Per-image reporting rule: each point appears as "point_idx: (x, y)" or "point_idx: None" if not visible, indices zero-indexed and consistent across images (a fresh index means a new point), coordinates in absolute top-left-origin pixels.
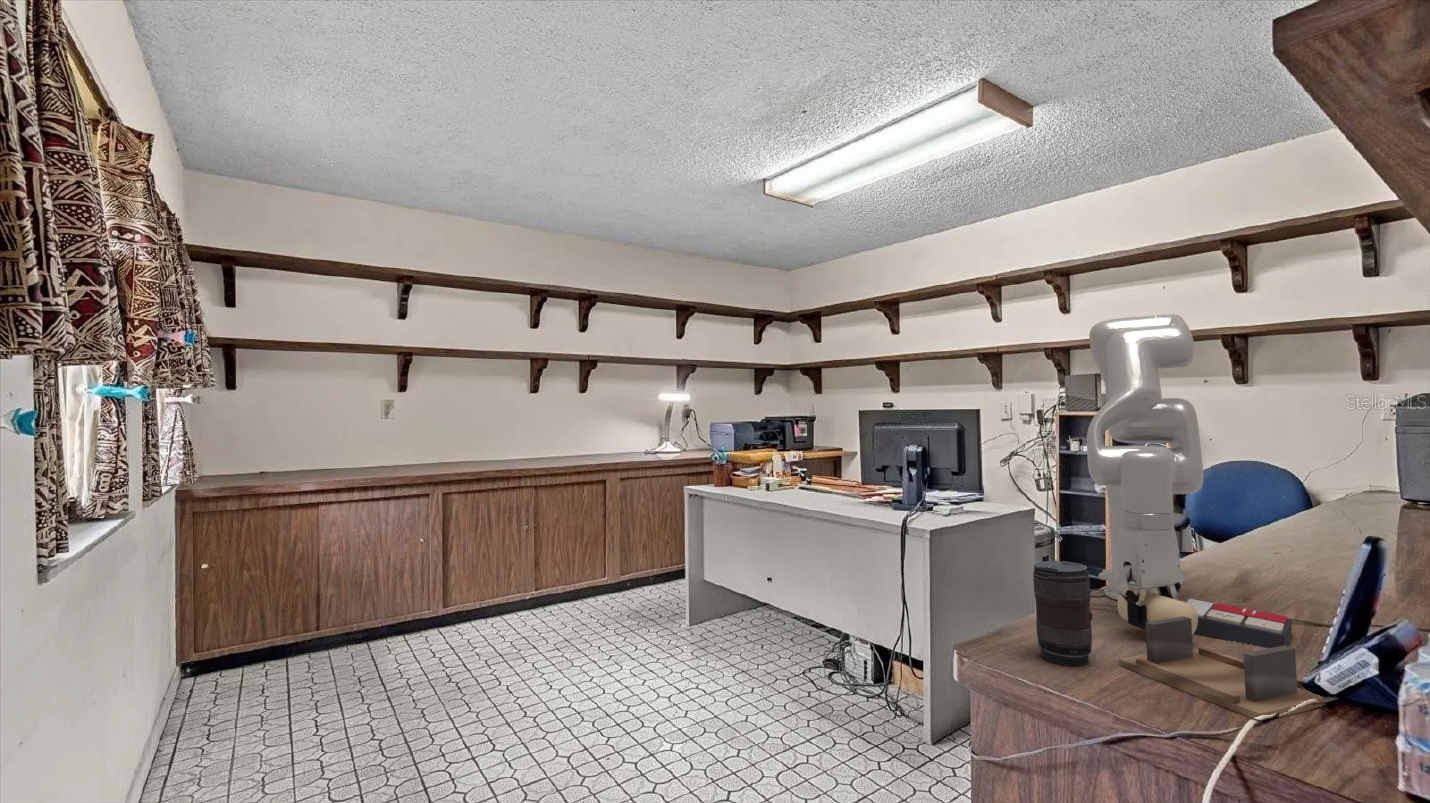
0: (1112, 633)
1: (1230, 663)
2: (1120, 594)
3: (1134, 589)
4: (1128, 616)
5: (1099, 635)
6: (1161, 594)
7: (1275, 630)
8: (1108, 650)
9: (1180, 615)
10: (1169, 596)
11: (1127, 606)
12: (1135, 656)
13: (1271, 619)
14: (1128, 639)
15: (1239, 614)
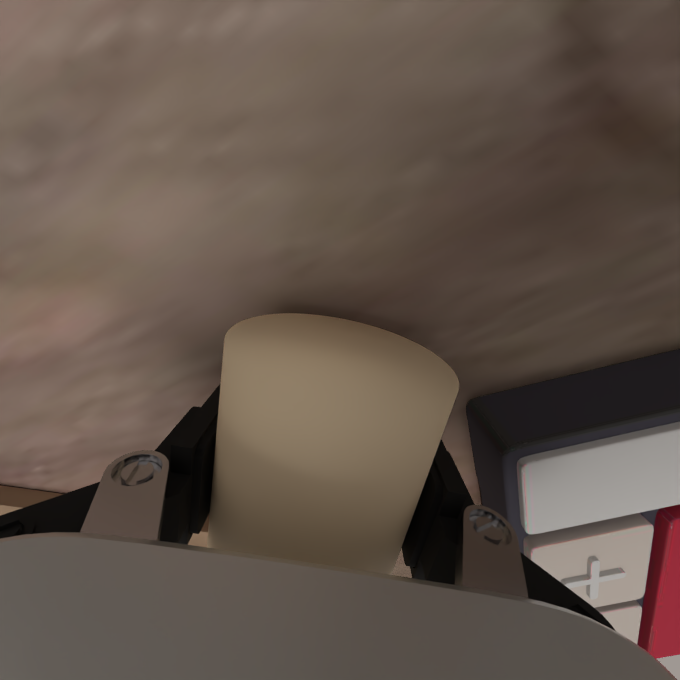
0: (222, 294)
1: None
2: (236, 365)
3: (314, 463)
4: (215, 393)
5: (147, 279)
6: (442, 544)
7: None
8: (32, 393)
9: None
10: (433, 581)
11: (190, 421)
12: (7, 507)
13: (660, 638)
14: (212, 368)
15: (656, 582)
